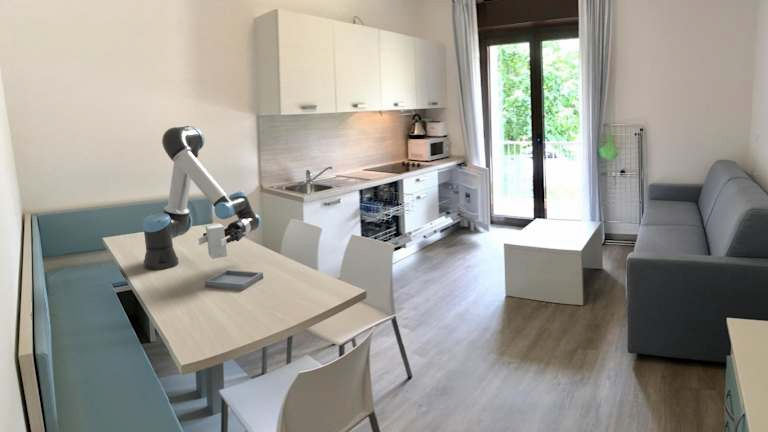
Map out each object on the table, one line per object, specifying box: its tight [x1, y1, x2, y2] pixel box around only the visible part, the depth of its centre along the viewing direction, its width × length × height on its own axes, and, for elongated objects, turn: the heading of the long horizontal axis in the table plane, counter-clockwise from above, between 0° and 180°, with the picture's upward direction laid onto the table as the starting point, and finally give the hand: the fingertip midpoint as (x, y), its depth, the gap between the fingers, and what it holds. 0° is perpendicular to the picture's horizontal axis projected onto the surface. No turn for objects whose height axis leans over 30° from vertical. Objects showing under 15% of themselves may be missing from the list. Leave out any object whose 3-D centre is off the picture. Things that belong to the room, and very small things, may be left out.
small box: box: [205, 222, 228, 260], centre depth 235 cm, size 8×6×13 cm
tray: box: [204, 269, 264, 291], centre depth 232 cm, size 18×16×2 cm
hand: (210, 242), depth 230 cm, fingers closed on small box, 10 cm apart
